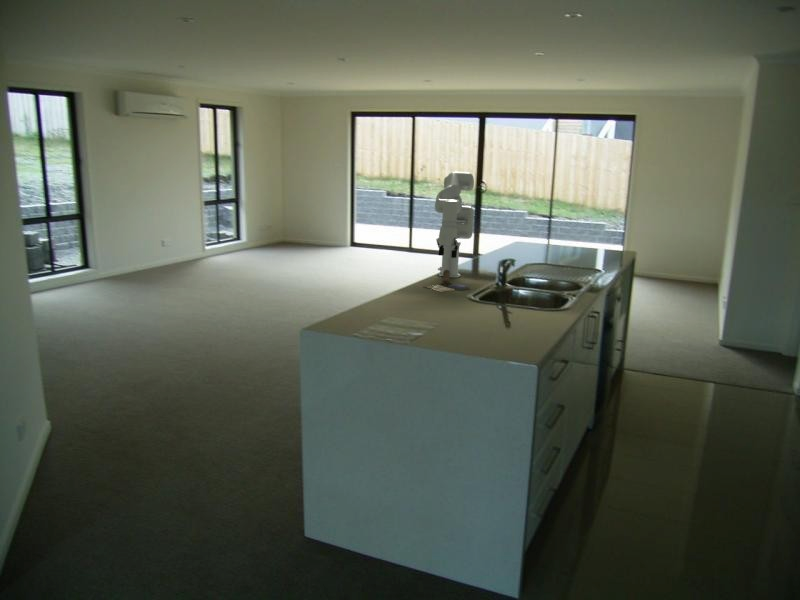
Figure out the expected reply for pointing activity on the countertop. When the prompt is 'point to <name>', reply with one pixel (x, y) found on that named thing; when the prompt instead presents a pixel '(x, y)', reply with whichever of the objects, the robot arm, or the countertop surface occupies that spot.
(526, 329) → the countertop surface
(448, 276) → the stamp
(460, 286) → the ink pad
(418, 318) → the countertop surface
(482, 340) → the countertop surface
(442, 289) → the card sheet
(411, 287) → the countertop surface
